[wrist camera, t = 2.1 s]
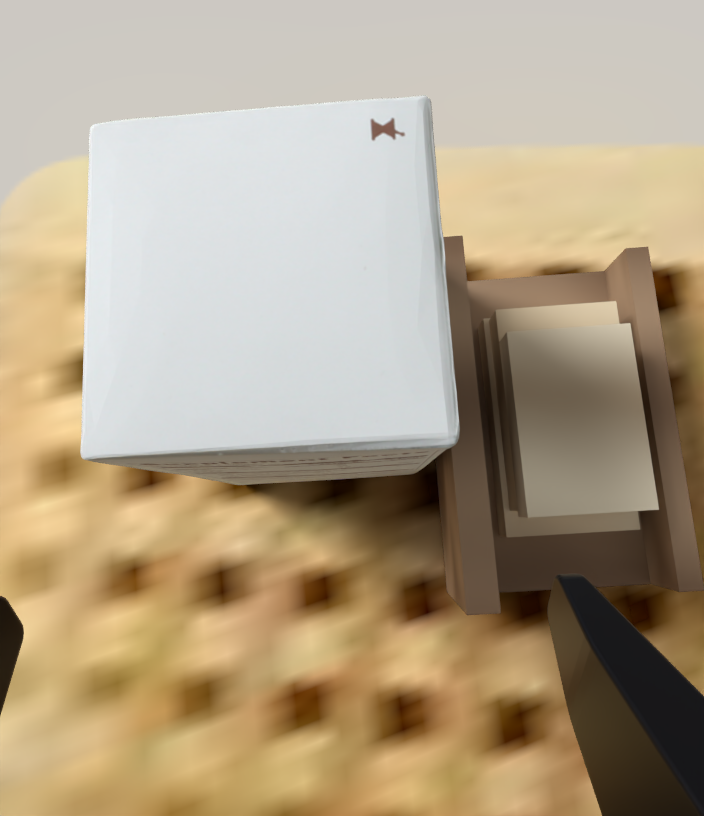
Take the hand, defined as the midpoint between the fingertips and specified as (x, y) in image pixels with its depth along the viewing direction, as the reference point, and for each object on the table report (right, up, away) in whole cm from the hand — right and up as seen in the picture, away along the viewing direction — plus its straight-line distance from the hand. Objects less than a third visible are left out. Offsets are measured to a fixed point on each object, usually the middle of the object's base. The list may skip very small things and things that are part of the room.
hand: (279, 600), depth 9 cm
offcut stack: (+9, +3, +12) cm, 15 cm away
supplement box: (0, +4, +14) cm, 15 cm away
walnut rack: (+8, +2, +13) cm, 16 cm away
